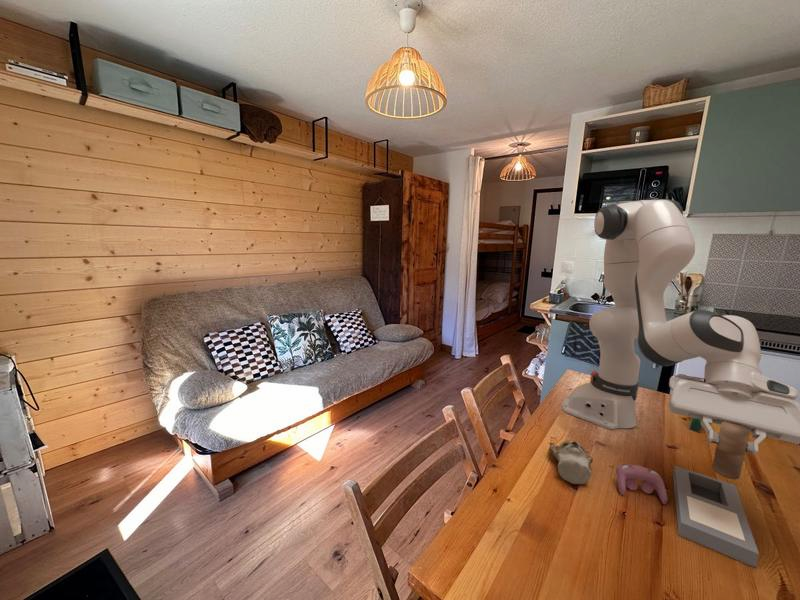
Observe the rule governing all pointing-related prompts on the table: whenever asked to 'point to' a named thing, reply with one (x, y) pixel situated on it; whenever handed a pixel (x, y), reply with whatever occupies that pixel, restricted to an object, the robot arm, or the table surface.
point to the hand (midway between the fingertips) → (731, 447)
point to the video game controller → (638, 472)
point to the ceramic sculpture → (572, 461)
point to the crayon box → (695, 424)
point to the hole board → (713, 515)
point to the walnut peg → (730, 450)
